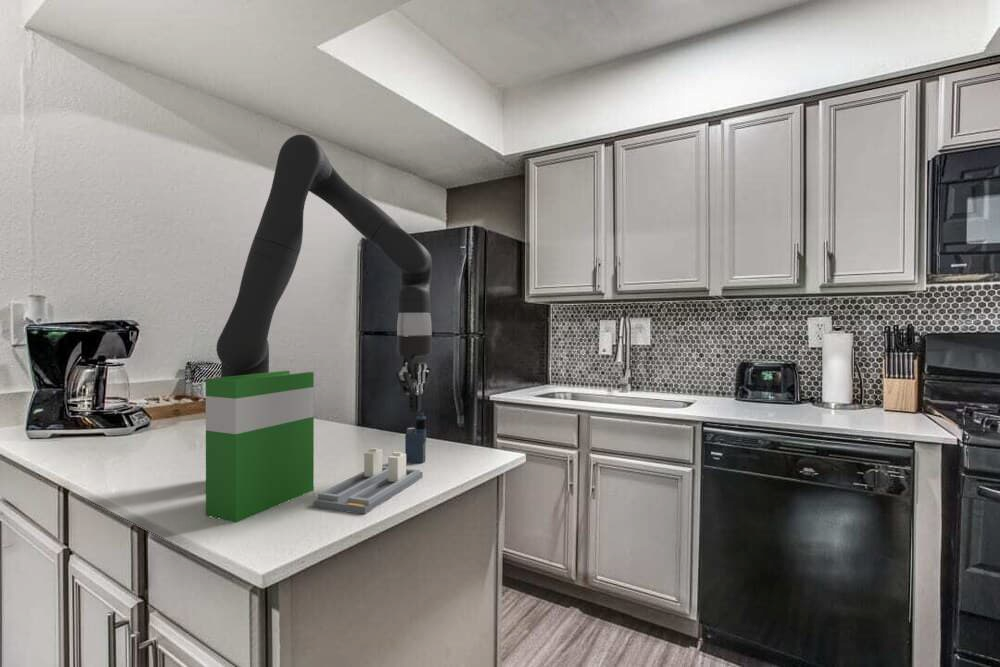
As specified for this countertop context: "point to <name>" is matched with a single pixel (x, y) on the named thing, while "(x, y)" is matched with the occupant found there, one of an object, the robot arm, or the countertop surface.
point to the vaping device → (416, 441)
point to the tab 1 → (372, 462)
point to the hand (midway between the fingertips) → (415, 411)
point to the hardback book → (258, 442)
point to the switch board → (364, 491)
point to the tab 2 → (396, 466)
